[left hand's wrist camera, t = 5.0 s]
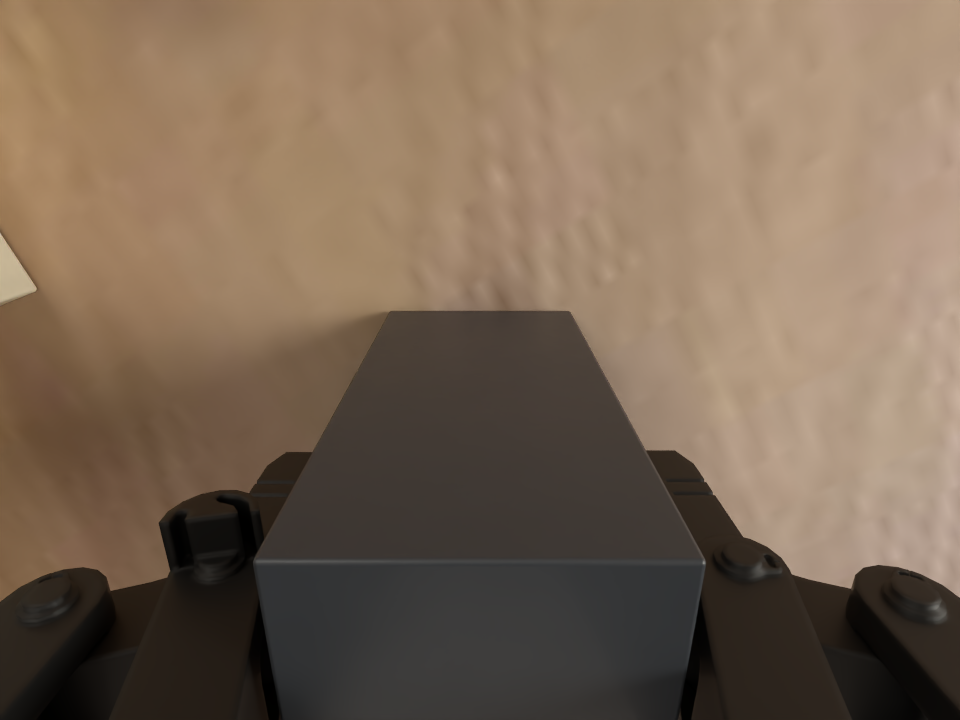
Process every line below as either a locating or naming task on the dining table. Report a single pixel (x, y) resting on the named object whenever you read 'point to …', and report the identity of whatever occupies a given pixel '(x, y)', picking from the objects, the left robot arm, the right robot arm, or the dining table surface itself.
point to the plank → (479, 539)
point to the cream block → (12, 276)
